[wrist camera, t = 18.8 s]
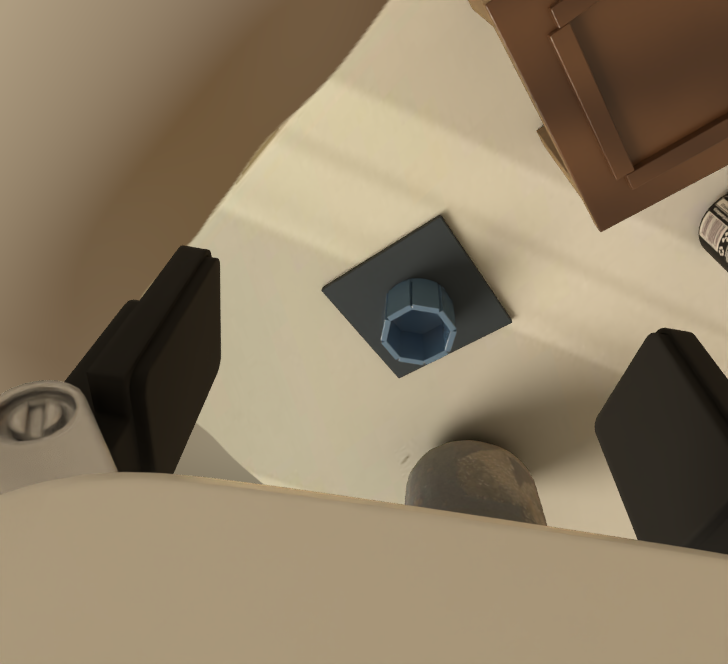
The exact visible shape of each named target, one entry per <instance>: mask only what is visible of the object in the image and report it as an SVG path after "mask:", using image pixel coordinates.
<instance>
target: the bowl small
mask: <svg viewBox="0 0 728 664" xmlns="http://www.w3.org/2000/svg"><path fill="white" fill-rule="evenodd" d="M456 333H457V329H456V321H455V314H454V306H453V301H452V300H451V298H450V297H449V295H448V293H447V291H446V290H445V289H444V288H443V287H442V286H441V285H440V284H438V283H437V282H434V281H431V280H428V279H422V278H412V279H408V280H405V281H402V282H400V283H399V284H397V285H396V286H394V287H393V288H392V289H391V290H389V292H388V293H387V294H386V299H385V302H384V308H383V313H382V326H381V343H382V345H383V346H384V347H385V348H386V349H387V350H388V351H389V353H390V354H391V355H392V356H393V357H394V358H395V360H397V359H398V361H400V362H406V363H412V364H418V365H424V363H425V364H426V365H427V364H429V363H432V362H434V361H436V360H438V359H440V358H442V357H444V356H446V355H448V352H450V351H451V348H452V345H453V342H454V339H455V336H456Z"/></svg>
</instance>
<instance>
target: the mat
mask: <svg viewBox="0 0 728 664" xmlns="http://www.w3.org/2000/svg"><path fill="white" fill-rule="evenodd" d="M412 278H422V279H428V280H431V281H434V282H437V283H438V284H440V285H441V286H442V287H443V288H444V289H445V290H446V291H447V293H448V295H449V297H450V298H451V300H452V301H453V306H454V314H455V321H456V329H457V333H456V336H455V339H454V342H453V345H452V348H451V351H450V352H448V354H450V353H452V352H454V351H456V350H458V349H460V348H462V347H464V346H466V345H468V344H470V343H472V342H474V341H476V340H478V339H480V338H482V337H484V336H486V335H488V334H490V333H492V332H494V331H496V330H498V329H500V328H502V327H504V326H506V325H508V324H510V323H512V320H511V318H510V317H509V315H508V314H507V312H506V311H505V309H504V308H503V306H502V305H501V303H500V302H499V300H498V299H497V297H496V296H495V294H494V293H493V292H492V290H491V289H490V287H489V286H488V284H487V283H486V281H485V280H484V278H483V277H482V275H481V274H480V272H479V271H478V269H477V268H476V266H475V265H474V263H473V262H472V260H471V259H470V258H469V256H468V255H467V253H466V252H465V250H464V249H463V247H462V246H461V244H460V243H459V241H458V240H457V238H456V237H455V235H454V234H453V232H452V231H451V229H450V228H449V226H448V225H447V224H446V222H445V221H444V219H443V218H442V216H441V215H439V216H437V217H436V218H434V219H432V220H431V221H429V222H428V223H426V224H424V225H423V226H421V227H420V228H418V229H416V230H415V231H413V232H411V233H410V234H408V235H407V236H405V237H403V238H402V239H400V240H399V241H397V242H395V243H394V244H392V245H390V246H389V247H387V248H386V249H384V250H382V251H381V252H379V253H378V254H376V255H374V256H373V257H371V258H370V259H368V260H366V261H365V262H363V263H361V264H360V265H358V266H357V267H355V268H353V269H352V270H350V271H349V272H347V273H345V274H344V275H342V276H341V277H339V278H337V279H336V280H334V281H332V282H331V283H329V284H328V285H326V286H324V287H323V288H322V292H323V293H324V294H325V295H326V296H327V297H328V299H329V300H330V301H331V302H332V303H333V304H334V305H335V306H336V308H337V309H338V310H339V311H340V312H341V313H342V314H343V316H344V317H345V318H346V319H347V320H348V321H349V322H350V323H351V325H352V326H353V327H354V328H355V329H356V330H357V331H358V333H359V334H360V335H361V336H362V337H363V338H364V339H365V341H366V342H367V343H368V344H369V345H370V346H371V347H372V348H373V350H374V351H375V352H376V353H377V354H378V355H379V356H380V358H381V359H382V360H383V361H384V362H385V363H386V364H387V365H388V367H389V368H390V369H391V370H392V371H393V372H394V373H395V375H396V376H397V377H398V378H401V377H403V376H405V375H407V374H409V373H411V372H413V371H415V370H417V369H419V368H421V367H423V366H425V365H426V364H425V363H424V365H418V364H412V363H406V362H400V361H398V359H397V360H395V358H394V357H393V356H392V355H391V354H390V353H389V351H388V350H387V349H386V348H385V347H384V346H383V345H382V343H381V326H382V313H383V308H384V302H385V299H386V294H387V293H388V292H389V290H391V289H392V288H393V287H394V286H396V285H397V284H399V283H400V282H402V281H405V280H408V279H412Z"/></svg>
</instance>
